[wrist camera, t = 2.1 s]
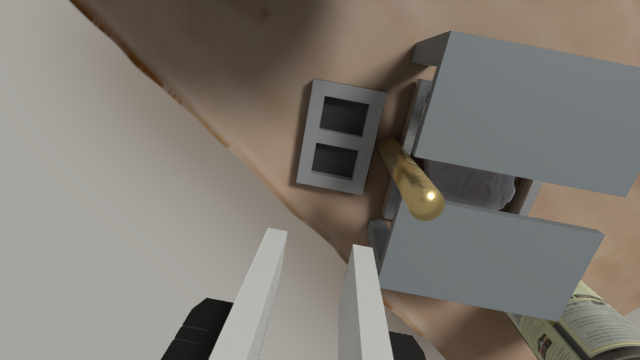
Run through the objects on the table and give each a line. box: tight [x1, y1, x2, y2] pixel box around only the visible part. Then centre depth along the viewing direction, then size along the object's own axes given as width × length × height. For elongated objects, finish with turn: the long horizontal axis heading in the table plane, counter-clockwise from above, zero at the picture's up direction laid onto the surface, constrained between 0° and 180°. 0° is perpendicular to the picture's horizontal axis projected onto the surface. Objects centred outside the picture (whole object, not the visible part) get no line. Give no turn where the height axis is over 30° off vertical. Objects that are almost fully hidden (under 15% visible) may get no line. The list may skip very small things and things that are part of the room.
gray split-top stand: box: [367, 31, 640, 322], centre depth 32 cm, size 23×18×11 cm
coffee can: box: [505, 280, 640, 360], centre depth 36 cm, size 10×10×14 cm
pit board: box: [296, 78, 387, 195], centre depth 37 cm, size 12×8×2 cm, turn 170°
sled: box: [379, 79, 543, 221], centre depth 29 cm, size 16×18×17 cm
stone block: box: [423, 158, 516, 211], centre depth 36 cm, size 12×5×10 cm
